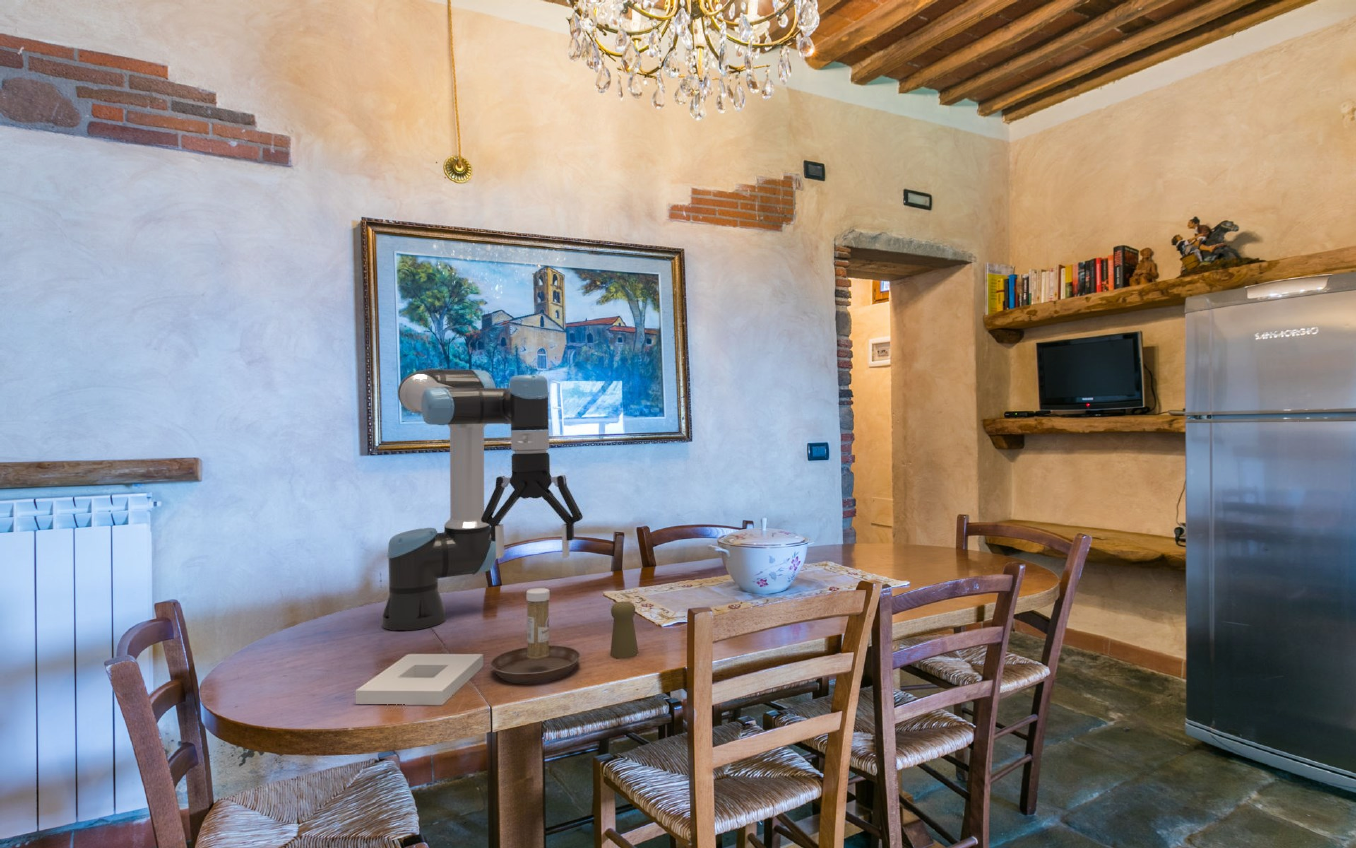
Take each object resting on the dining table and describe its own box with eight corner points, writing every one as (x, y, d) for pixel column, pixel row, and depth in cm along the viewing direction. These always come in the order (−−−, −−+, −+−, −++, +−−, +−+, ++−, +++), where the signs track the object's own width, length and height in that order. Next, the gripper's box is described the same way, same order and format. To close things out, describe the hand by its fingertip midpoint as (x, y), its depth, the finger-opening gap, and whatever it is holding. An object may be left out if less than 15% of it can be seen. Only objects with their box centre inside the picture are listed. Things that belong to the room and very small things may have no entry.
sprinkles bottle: (549, 659, 138) (549, 591, 139) (526, 661, 137) (526, 592, 138) (549, 653, 143) (549, 587, 143) (526, 654, 142) (526, 588, 142)
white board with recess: (408, 666, 144) (408, 654, 144) (483, 666, 143) (483, 654, 143) (355, 704, 125) (355, 690, 125) (442, 705, 123) (441, 691, 123)
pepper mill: (616, 660, 145) (615, 607, 145) (605, 652, 150) (604, 601, 150) (643, 655, 147) (641, 603, 147) (631, 647, 153) (630, 597, 153)
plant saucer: (484, 666, 144) (484, 651, 145) (568, 653, 152) (567, 639, 152) (498, 695, 128) (498, 679, 128) (591, 679, 135) (591, 664, 135)
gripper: (463, 454, 138) (465, 561, 138) (587, 451, 136) (589, 560, 136) (477, 452, 145) (479, 554, 145) (595, 450, 143) (597, 553, 143)
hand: (532, 557), depth 140 cm, fingers open, 13 cm apart
